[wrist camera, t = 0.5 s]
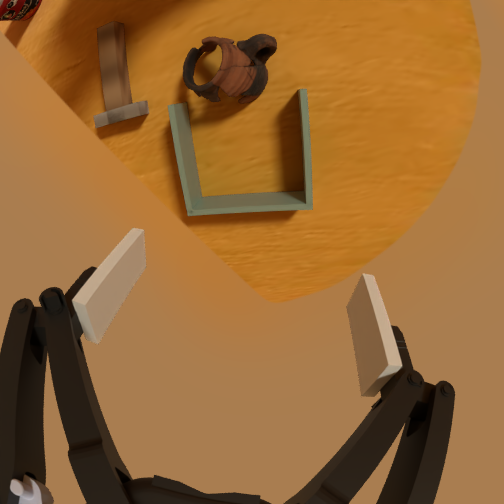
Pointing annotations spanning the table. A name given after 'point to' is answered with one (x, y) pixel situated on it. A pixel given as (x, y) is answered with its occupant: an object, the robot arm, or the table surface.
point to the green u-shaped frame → (236, 201)
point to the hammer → (115, 77)
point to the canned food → (18, 9)
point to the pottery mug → (233, 67)
